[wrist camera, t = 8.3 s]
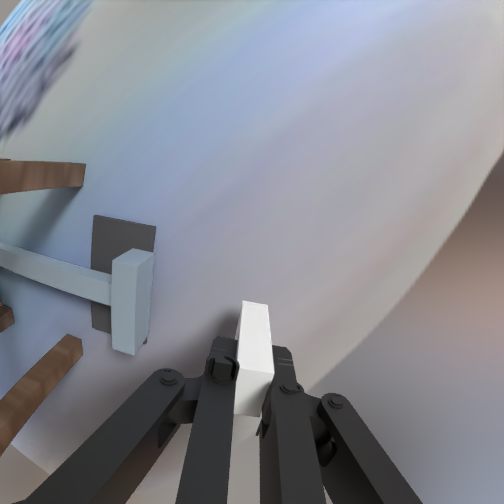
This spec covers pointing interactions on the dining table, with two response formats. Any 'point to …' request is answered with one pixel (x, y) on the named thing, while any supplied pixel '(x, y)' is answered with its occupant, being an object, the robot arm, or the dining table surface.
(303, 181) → the dining table surface
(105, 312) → the pad
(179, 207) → the dining table surface
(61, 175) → the tunnel frame
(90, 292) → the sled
